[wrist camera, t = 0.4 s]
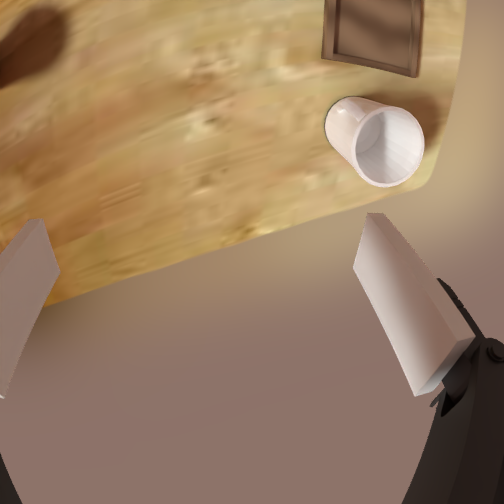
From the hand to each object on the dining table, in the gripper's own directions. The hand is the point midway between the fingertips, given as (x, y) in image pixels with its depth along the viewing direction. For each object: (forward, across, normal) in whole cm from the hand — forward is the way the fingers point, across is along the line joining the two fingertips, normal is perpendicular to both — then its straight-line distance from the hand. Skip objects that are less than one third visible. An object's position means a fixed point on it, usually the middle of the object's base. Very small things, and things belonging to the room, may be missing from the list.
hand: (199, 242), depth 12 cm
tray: (+28, +19, +14) cm, 37 cm away
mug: (+28, +17, 0) cm, 33 cm away
